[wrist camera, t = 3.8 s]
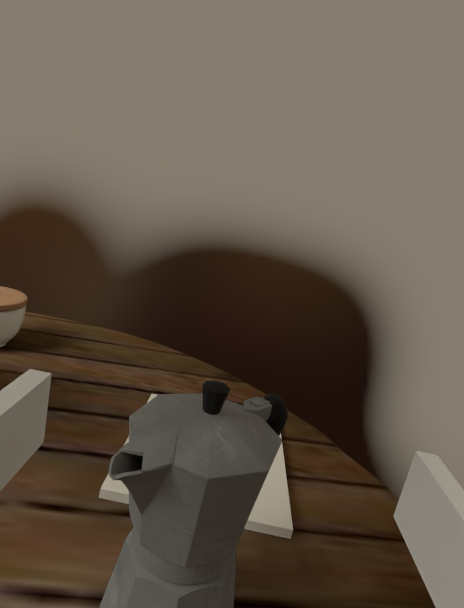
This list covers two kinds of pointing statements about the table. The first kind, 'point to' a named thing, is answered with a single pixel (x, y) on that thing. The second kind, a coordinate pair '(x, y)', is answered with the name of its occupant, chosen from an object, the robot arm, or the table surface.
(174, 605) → the coffeepot
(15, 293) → the lidded jar
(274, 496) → the placemat
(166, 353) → the table surface
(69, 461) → the table surface
